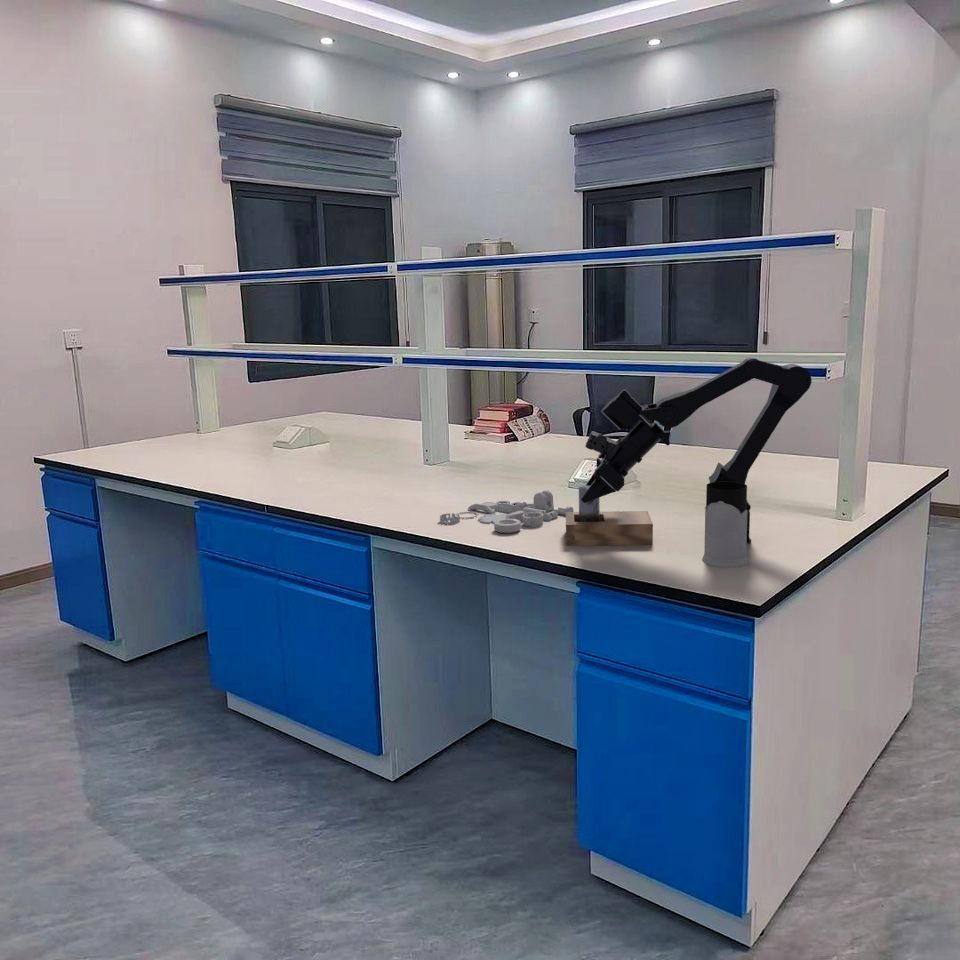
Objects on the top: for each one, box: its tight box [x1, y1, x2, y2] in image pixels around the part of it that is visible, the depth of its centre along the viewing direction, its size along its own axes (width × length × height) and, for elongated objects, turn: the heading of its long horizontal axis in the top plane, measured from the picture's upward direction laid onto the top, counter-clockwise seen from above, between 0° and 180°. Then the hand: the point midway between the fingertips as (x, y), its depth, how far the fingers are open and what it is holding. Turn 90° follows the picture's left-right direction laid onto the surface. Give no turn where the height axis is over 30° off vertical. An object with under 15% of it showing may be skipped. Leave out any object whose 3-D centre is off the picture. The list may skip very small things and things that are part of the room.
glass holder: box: [701, 481, 749, 568], centre depth 169 cm, size 9×14×15 cm, turn 149°
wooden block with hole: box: [565, 510, 654, 547], centre depth 187 cm, size 18×11×4 cm, turn 85°
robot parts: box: [439, 489, 574, 534], centre depth 207 cm, size 25×25×5 cm
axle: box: [578, 485, 601, 522], centre depth 186 cm, size 4×4×10 cm
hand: (583, 496), depth 186 cm, fingers open, 9 cm apart
